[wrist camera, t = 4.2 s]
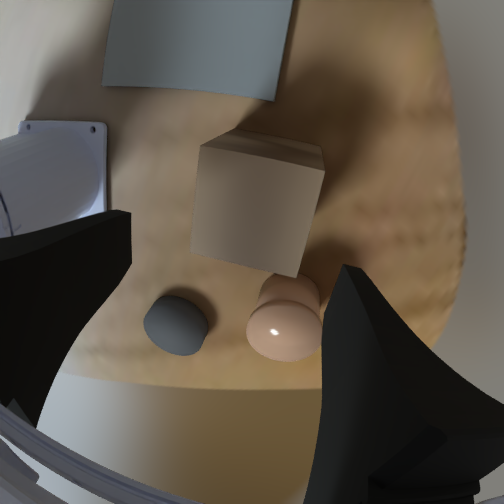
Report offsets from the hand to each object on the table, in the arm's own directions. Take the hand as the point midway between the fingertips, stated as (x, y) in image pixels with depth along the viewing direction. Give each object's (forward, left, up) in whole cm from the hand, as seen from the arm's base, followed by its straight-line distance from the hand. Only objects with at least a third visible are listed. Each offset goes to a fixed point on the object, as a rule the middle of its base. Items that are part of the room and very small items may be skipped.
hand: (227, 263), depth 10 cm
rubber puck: (-5, -13, -10) cm, 17 cm away
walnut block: (0, 0, -10) cm, 10 cm away
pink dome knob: (+3, -8, -10) cm, 13 cm away
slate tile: (-6, +10, -9) cm, 15 cm away
